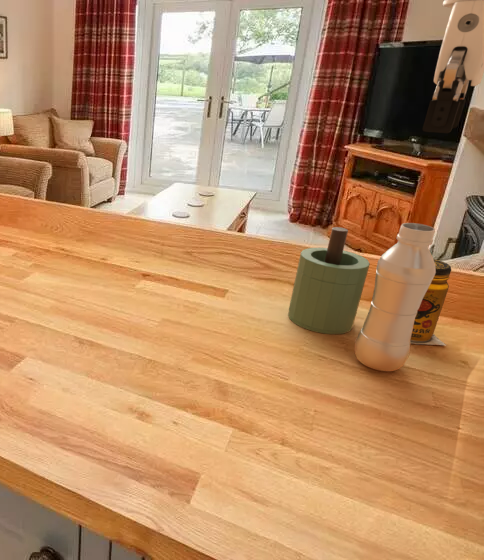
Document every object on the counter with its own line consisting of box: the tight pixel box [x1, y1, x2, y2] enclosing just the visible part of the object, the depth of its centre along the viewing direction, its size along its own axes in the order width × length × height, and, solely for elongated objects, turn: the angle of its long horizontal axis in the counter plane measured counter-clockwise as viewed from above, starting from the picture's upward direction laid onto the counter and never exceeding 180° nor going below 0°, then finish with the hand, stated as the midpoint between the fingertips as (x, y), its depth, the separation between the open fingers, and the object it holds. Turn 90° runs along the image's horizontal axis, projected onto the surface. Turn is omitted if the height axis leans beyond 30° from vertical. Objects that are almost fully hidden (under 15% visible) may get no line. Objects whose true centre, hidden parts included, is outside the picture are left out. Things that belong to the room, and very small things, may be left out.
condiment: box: [410, 258, 452, 346], centre depth 75 cm, size 7×8×12 cm
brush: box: [324, 226, 349, 265], centre depth 78 cm, size 4×4×15 cm
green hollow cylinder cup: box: [287, 246, 371, 335], centre depth 79 cm, size 10×10×11 cm
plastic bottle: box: [353, 222, 436, 372], centre depth 65 cm, size 6×7×20 cm
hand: (439, 129), depth 70 cm, fingers open, 9 cm apart
